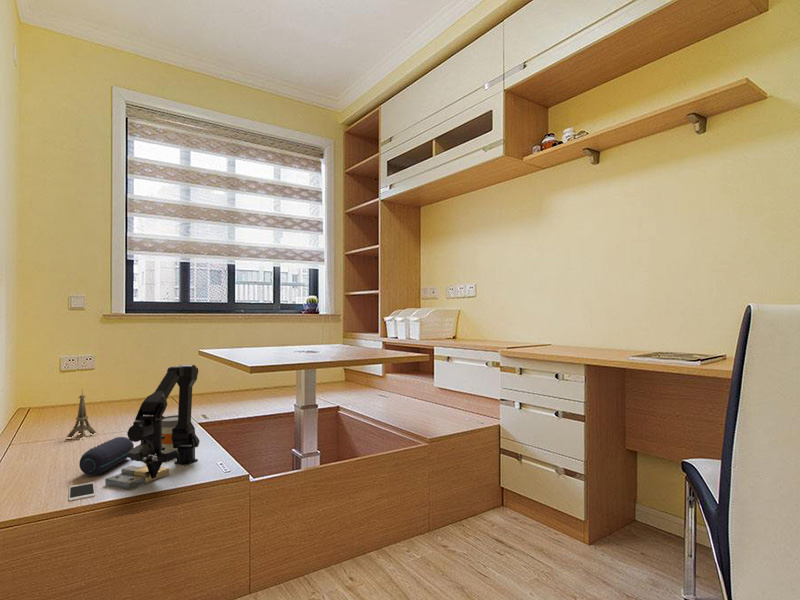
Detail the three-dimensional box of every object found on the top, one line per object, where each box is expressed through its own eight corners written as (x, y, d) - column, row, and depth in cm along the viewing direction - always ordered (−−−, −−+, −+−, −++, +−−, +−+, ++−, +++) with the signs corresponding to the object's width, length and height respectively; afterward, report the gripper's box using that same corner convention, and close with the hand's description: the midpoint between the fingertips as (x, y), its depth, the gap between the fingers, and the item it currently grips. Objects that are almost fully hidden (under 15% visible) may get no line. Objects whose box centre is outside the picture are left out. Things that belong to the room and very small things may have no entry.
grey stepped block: (131, 476, 174) (131, 465, 174) (154, 480, 170) (154, 469, 170) (105, 485, 165) (105, 474, 165) (129, 489, 160) (129, 478, 160)
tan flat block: (146, 470, 180) (146, 460, 180) (169, 473, 176) (169, 463, 176) (121, 479, 171) (121, 468, 171) (144, 483, 166) (144, 472, 166)
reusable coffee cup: (150, 454, 201) (151, 420, 202) (174, 447, 213) (174, 414, 214) (173, 457, 197) (173, 421, 198) (195, 449, 209) (195, 415, 209)
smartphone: (68, 502, 151) (68, 499, 151) (69, 488, 164) (69, 486, 164) (95, 497, 155) (95, 494, 155) (93, 484, 168) (93, 481, 168)
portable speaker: (112, 458, 197) (112, 434, 198) (136, 458, 198) (136, 434, 198) (73, 479, 172) (74, 452, 173) (101, 478, 173) (101, 451, 173)
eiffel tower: (99, 434, 239) (99, 385, 240) (83, 440, 228) (83, 389, 229) (80, 434, 240) (80, 385, 241) (63, 439, 229) (64, 389, 230)
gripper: (114, 438, 164) (114, 482, 164) (152, 442, 157) (152, 489, 157) (142, 430, 174) (142, 472, 174) (179, 434, 167) (179, 478, 167)
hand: (153, 478), depth 168 cm, fingers closed
